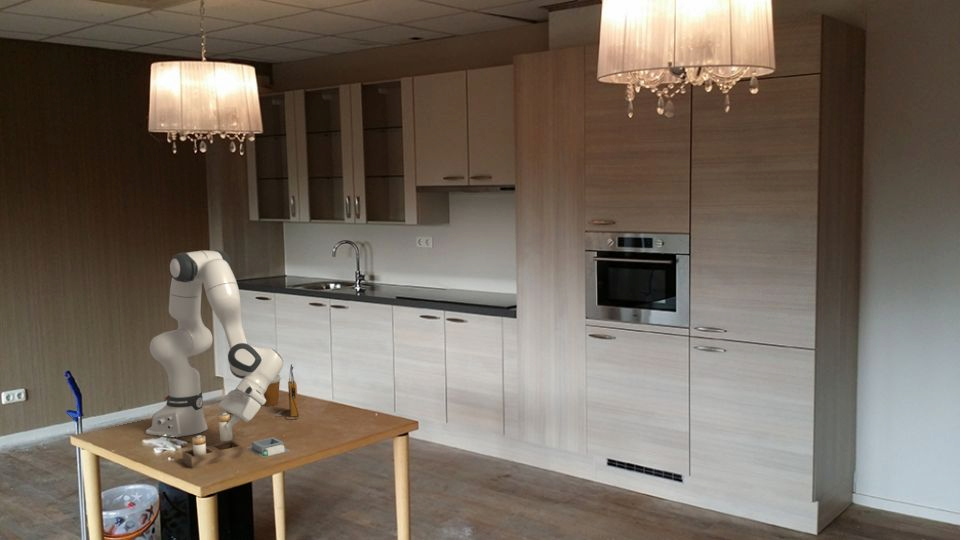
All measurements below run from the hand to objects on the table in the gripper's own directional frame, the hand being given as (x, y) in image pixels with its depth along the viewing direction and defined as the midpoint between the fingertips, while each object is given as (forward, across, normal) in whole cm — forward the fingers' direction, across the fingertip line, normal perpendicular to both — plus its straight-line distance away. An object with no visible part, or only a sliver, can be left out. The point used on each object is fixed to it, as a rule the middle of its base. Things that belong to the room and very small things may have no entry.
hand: (223, 426), depth 283 cm
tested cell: (+3, 0, +4) cm, 5 cm away
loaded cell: (+14, 0, +1) cm, 14 cm away
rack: (+11, 0, +5) cm, 12 cm away
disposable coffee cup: (-22, -56, +38) cm, 71 cm away
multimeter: (-19, -35, +36) cm, 54 cm away
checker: (-2, +3, +18) cm, 18 cm away
